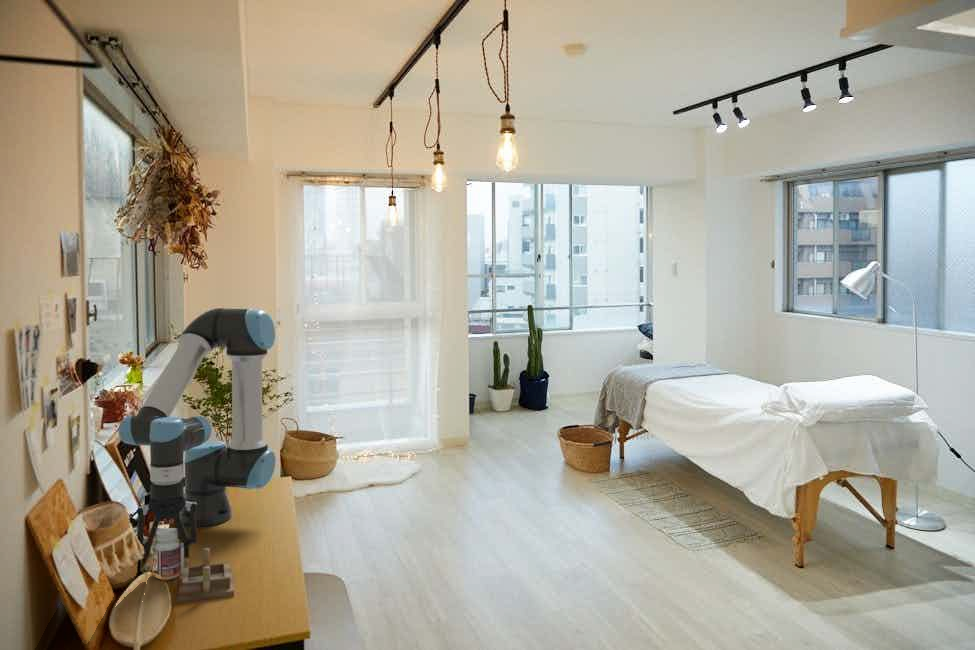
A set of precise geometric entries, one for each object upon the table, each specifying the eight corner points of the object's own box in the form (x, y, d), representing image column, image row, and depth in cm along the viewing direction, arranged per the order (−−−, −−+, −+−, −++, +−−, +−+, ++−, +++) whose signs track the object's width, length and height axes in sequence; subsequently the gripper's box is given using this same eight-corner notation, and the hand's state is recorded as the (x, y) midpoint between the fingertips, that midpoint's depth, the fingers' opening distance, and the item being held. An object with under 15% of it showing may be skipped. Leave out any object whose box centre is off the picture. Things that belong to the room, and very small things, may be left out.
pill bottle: (186, 572, 184) (186, 528, 183) (169, 582, 178) (169, 536, 177) (165, 569, 185) (164, 525, 184) (148, 579, 179) (147, 534, 178)
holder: (180, 578, 180) (180, 550, 179) (231, 572, 184) (231, 545, 184) (178, 603, 167) (178, 572, 166) (233, 596, 171) (233, 566, 170)
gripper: (122, 488, 173) (123, 583, 174) (208, 481, 180) (208, 573, 181) (125, 479, 180) (126, 571, 181) (208, 474, 187) (208, 561, 188)
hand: (167, 572), depth 181 cm, fingers closed on pill bottle, 6 cm apart
